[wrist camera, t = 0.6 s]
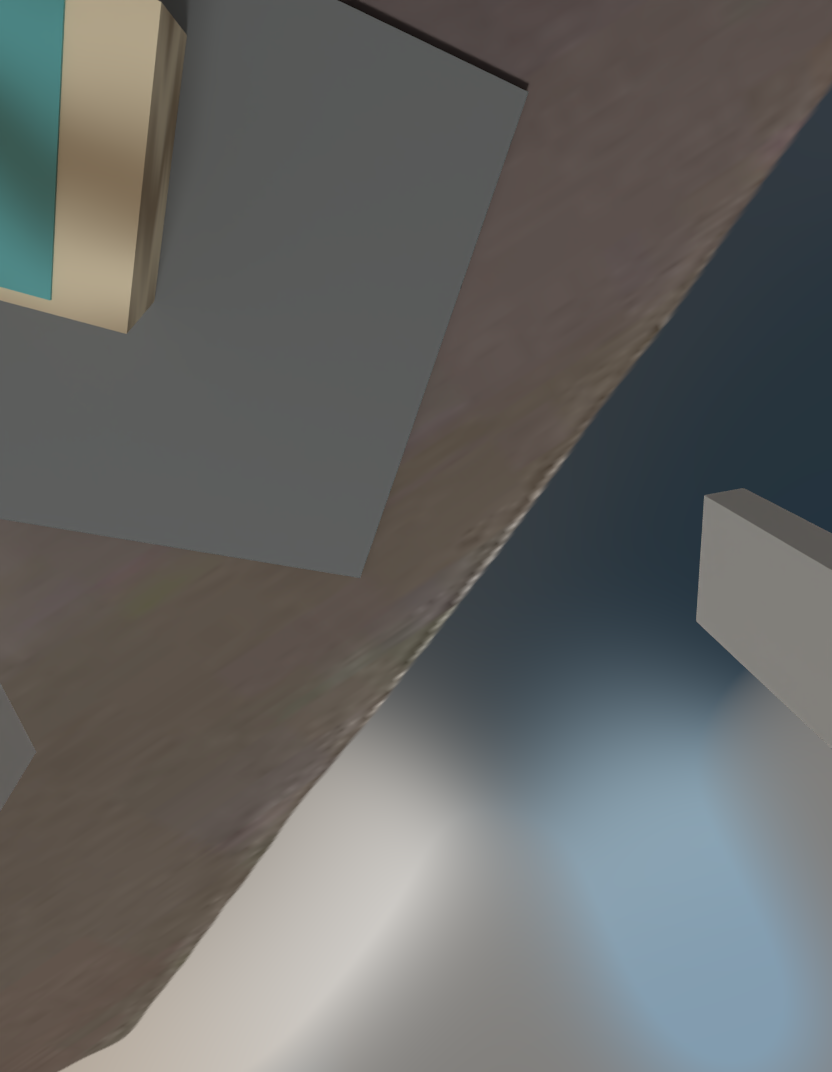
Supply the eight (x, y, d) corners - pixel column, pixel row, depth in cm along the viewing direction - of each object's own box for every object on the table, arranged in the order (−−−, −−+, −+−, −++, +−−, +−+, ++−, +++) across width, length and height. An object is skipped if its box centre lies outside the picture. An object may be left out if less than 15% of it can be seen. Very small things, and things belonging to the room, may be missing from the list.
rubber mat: (-82, -200, 19) (-87, -205, 19) (525, 92, 26) (528, 92, 26) (-55, 506, 31) (-58, 509, 31) (359, 575, 38) (360, 577, 38)
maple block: (-29, -57, 21) (-130, -127, 16) (187, 35, 23) (160, 0, 18) (-26, 249, 25) (-104, 274, 20) (154, 301, 27) (125, 334, 22)
